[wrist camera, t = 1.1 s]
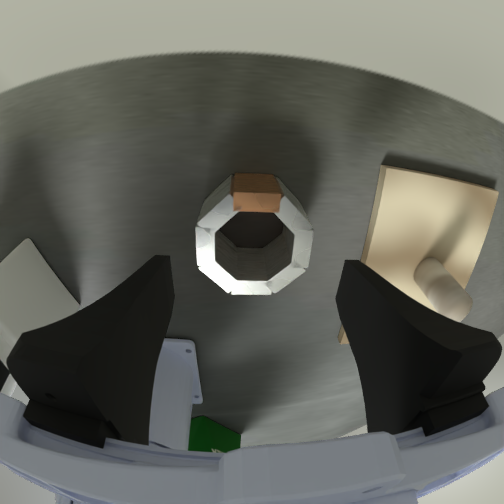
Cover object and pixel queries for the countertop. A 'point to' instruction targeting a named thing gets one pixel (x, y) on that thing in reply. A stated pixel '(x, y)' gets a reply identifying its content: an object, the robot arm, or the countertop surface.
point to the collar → (253, 259)
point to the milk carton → (211, 437)
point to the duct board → (427, 237)
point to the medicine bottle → (28, 301)
